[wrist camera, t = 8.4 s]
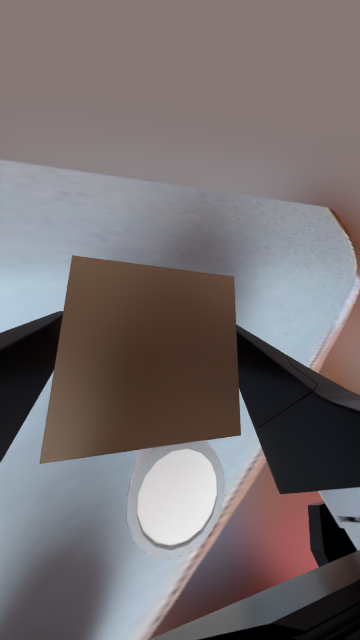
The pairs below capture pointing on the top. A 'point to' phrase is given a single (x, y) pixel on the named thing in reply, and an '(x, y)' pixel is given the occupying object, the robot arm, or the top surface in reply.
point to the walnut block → (142, 360)
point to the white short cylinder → (174, 498)
